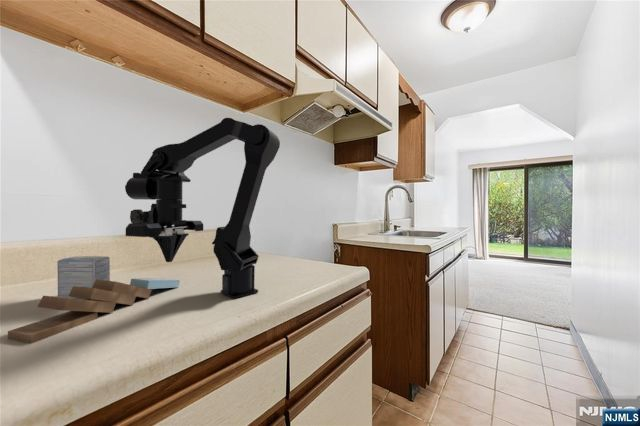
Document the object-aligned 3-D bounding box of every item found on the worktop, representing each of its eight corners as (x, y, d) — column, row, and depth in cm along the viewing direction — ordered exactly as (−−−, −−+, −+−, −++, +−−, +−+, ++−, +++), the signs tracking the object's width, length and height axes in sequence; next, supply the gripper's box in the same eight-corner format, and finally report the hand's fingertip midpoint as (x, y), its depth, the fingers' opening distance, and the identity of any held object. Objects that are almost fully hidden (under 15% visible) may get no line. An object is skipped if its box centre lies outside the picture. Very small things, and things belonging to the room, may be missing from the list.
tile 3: (117, 293, 55) (73, 286, 47) (136, 296, 54) (94, 288, 46) (113, 302, 54) (68, 296, 46) (132, 305, 53) (89, 298, 45)
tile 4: (94, 300, 51) (43, 295, 42) (116, 302, 50) (67, 298, 42) (90, 309, 50) (37, 307, 42) (112, 312, 49) (62, 310, 41)
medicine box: (110, 293, 60) (110, 256, 60) (94, 300, 55) (94, 259, 55) (75, 293, 60) (75, 255, 60) (56, 300, 55) (56, 259, 55)
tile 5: (76, 308, 48) (7, 331, 39) (97, 311, 47) (31, 335, 38) (76, 318, 48) (7, 343, 39) (97, 321, 47) (31, 347, 38)
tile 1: (163, 278, 67) (131, 278, 58) (179, 279, 65) (149, 280, 57) (162, 285, 66) (129, 287, 58) (178, 287, 65) (147, 289, 57)
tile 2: (133, 288, 59) (95, 279, 51) (151, 290, 58) (116, 281, 50) (130, 296, 58) (91, 288, 50) (148, 298, 57) (111, 291, 49)
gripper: (171, 200, 76) (171, 254, 76) (105, 198, 58) (105, 267, 58) (204, 201, 73) (204, 256, 74) (146, 198, 55) (146, 271, 55)
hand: (169, 261), depth 65 cm, fingers closed
